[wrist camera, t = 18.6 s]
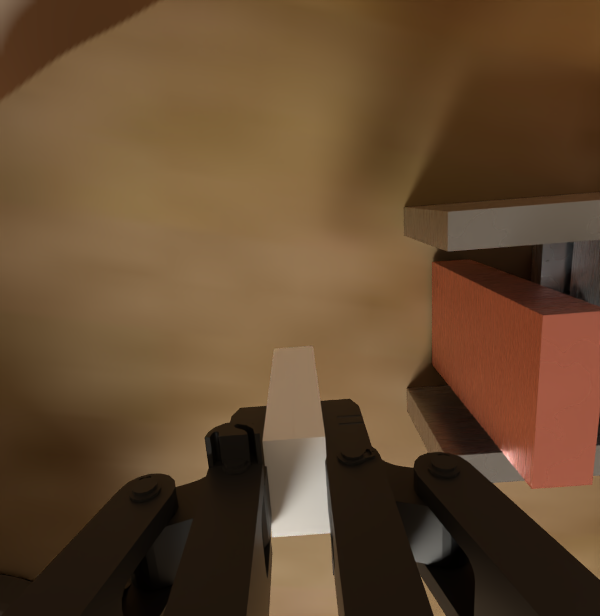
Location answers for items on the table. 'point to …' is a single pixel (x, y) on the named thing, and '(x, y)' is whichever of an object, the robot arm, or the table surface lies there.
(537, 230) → the grey open box
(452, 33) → the table surface
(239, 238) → the table surface
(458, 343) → the jaw
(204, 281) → the table surface
